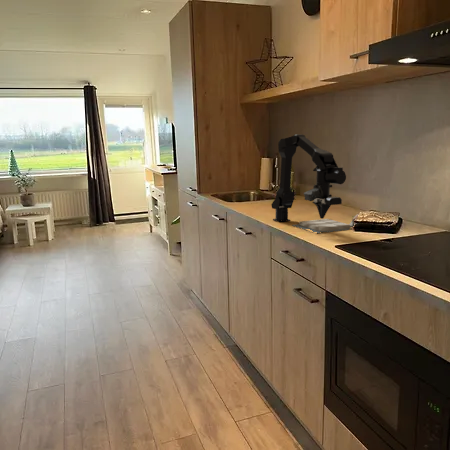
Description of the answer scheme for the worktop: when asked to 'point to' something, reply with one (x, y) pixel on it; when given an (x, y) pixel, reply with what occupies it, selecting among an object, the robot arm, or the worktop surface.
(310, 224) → the loose plank
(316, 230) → the underlay mat
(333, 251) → the worktop surface
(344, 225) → the grey flat block
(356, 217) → the packaged product
